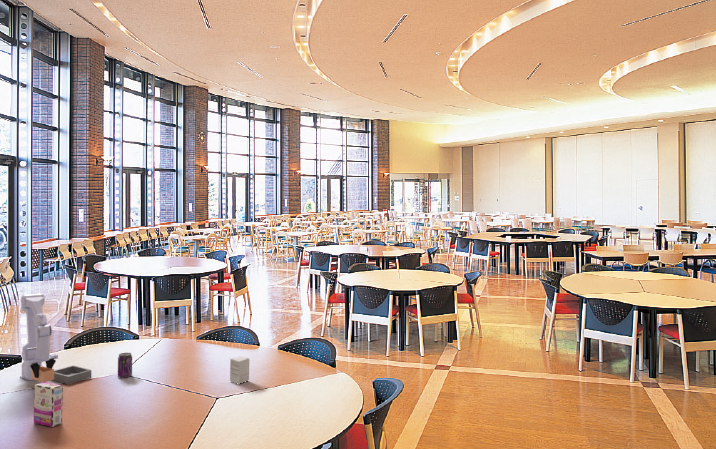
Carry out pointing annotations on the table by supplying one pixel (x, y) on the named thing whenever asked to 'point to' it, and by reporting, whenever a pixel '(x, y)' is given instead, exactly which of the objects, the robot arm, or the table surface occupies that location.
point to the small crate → (44, 374)
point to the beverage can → (124, 365)
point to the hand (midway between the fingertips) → (42, 375)
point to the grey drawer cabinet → (239, 369)
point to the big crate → (71, 374)
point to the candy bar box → (48, 404)
